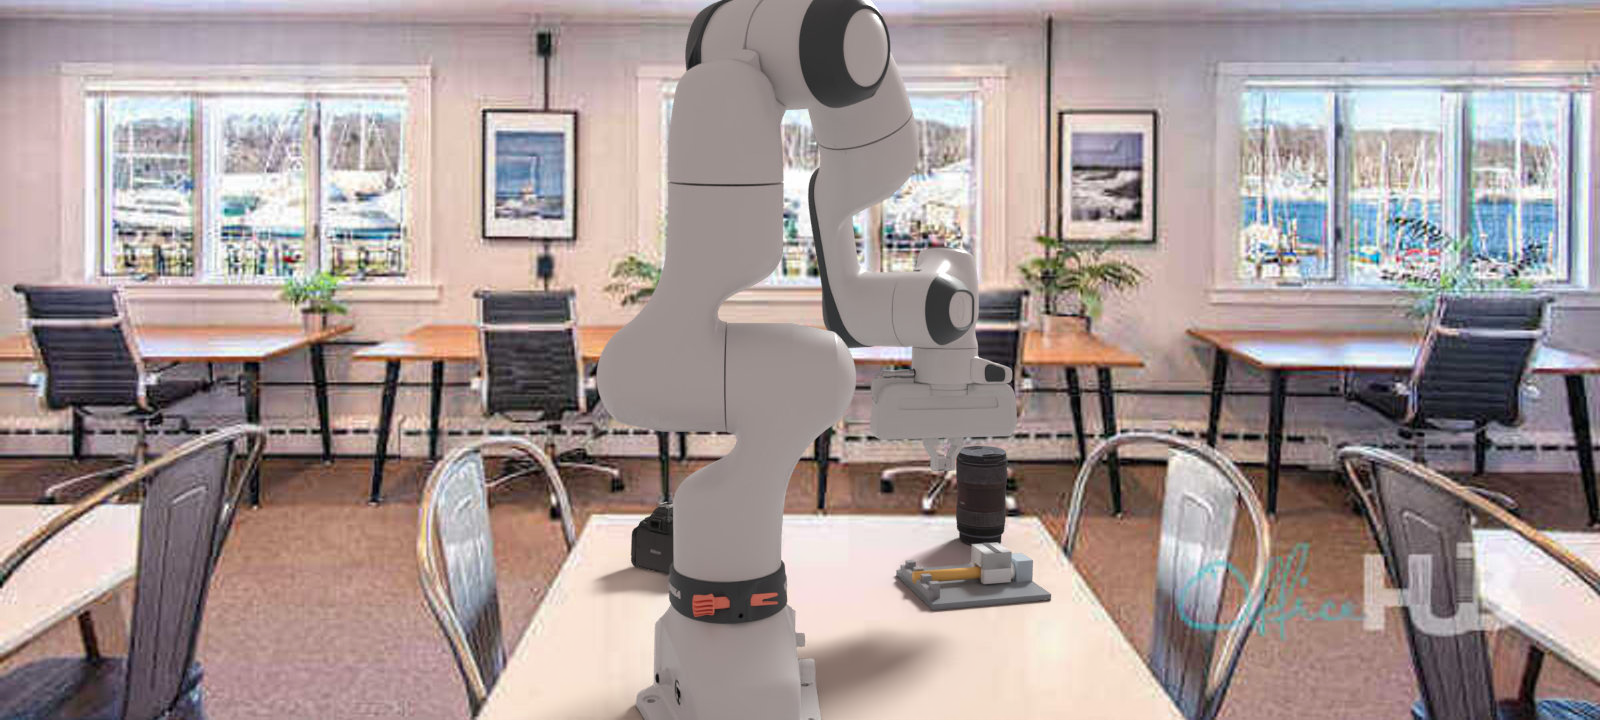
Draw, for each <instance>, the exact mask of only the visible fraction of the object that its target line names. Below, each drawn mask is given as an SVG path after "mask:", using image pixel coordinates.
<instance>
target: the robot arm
mask: <svg viewBox="0 0 1600 720" xmlns="http://www.w3.org/2000/svg"><path fill="white" fill-rule="evenodd" d="M885 20H886V19H884V17H883V15H882V13H881V12H880V11H879V9H878V8H877V7H876V5H875V3H873V2H872V0H718V1H716V2H713V3H711V4H709V5H708V6H706V7H704V8H703V9H702V10H701V11H700V12H698V13H697V14H696V15H695V18H694V20H693V21H692V24H691V26H690V28H689V31H688V35H687V39H686V44H685V51H684V53H685V70H686V71H685V72H684V74H682V75H681V77H680V78H679V81H678V82H677V85H676V88H675V92H674V97H673V98H674V99H673V103H672V108H671V115H670V116H671V117H670V124H669V133H668V147H667V234H666V246H665V247H666V249H665V255H664V256H665V258H664V263H663V268H662V271H661V274H660V277H659V280H658V283H657V285H656V286H655V289H654V291H653V292H652V294H651V296H650V298H649V299H648V301H647V302H646V304H645V305H644V307H643V308H642V309H641V310H640V311H639V312H638V314H637V315H636V316H635V317H634V318H633V319H632V320H630V321H629V322H628V323H626V324H625V325H624V326H622V327H621V328H620V329H618V330H617V332H615V333H614V334H613V335H612V336H611V338H610V339H608V341H607V343H606V344H605V346H604V347H603V350H602V351H601V354H600V357H599V360H598V363H597V368H596V386H597V390H598V394H599V398H600V400H601V402H602V404H603V406H604V408H605V409H606V411H607V413H608V414H610V416H611V417H612V418H613V419H614V420H615V421H616V423H618V424H623V425H627V426H631V427H636V428H641V429H646V430H652V431H658V432H663V433H664V432H668V433H669V432H671V433H672V432H676V433H677V432H679V433H680V432H681V433H682V432H685V433H686V432H689V433H691V432H692V433H693V432H697V433H699V432H705V433H706V432H709V433H710V432H712V433H713V432H714V433H715V432H718V433H719V432H725V433H726V432H727V433H728V434H732V435H734V437H735V438H736V441H735V444H734V445H733V448H732V449H731V450H730V452H729V453H727V454H726V455H725V456H723V457H721V458H720V459H718V460H716V461H713V462H711V463H709V464H707V465H705V466H703V467H701V468H699V469H698V470H696V471H694V472H692V473H691V474H690V475H688V476H687V477H686V478H685V479H684V480H683V481H682V482H680V484H679V486H678V487H677V489H676V491H675V493H674V497H673V501H672V502H673V547H674V562H673V563H672V564H671V565H670V572H669V574H668V580H667V587H668V599H669V602H670V605H669V606H668V608H667V610H666V611H665V612H664V613H663V615H662V616H660V618H658V620H657V621H656V622H655V623H654V644H653V645H654V646H653V647H654V649H653V684H652V685H650V686H648V687H646V688H643V689H641V690H640V691H639V692H637V694H636V701H635V706H636V708H637V709H638V711H639V712H640V714H641V716H642V718H643V719H644V720H822V717H821V710H820V702H819V696H818V694H819V693H818V689H817V688H818V687H817V681H816V675H817V674H816V662H815V658H799V656H798V655H799V654H798V648H801V647H802V648H803V647H805V646H806V633H805V632H796V631H797V630H796V616H797V615H796V609H794V608H792V606H790V605H789V604H788V589H787V588H788V577H787V576H788V575H787V573H786V565H785V562H784V561H783V560H782V541H783V540H782V539H783V537H782V536H783V520H784V512H785V511H784V510H785V500H786V496H787V495H786V494H787V490H788V486H789V483H790V480H791V477H792V475H793V472H794V471H795V468H796V466H797V464H798V463H799V461H800V460H801V458H802V456H803V455H804V453H805V452H806V451H807V450H808V448H809V447H810V446H811V444H812V443H814V442H815V440H816V439H817V438H818V437H820V435H822V434H823V433H824V432H826V430H828V429H829V428H831V427H832V426H834V425H835V424H836V423H837V422H839V421H840V420H841V418H842V417H843V416H844V415H845V413H846V412H847V411H848V408H849V407H850V406H851V403H852V401H853V398H854V395H855V391H856V386H857V370H856V365H855V362H854V361H855V360H854V358H853V356H852V353H851V350H850V349H860V348H871V347H886V348H887V347H892V348H893V347H894V348H895V347H896V348H909V347H910V348H911V369H895V370H894V369H883V370H881V372H880V373H877V374H875V376H873V378H872V379H871V382H870V397H871V399H872V403H871V408H870V409H871V411H870V418H869V419H870V420H869V431H870V432H871V434H872V435H873V436H874V437H875V438H877V439H879V440H882V441H883V440H887V441H888V440H889V441H890V440H917V439H918V440H921V439H922V446H923V447H924V449H925V451H926V452H927V455H928V456H929V457H930V463H929V464H930V466H929V467H930V470H931V471H933V472H946V471H947V472H952V471H953V472H954V471H956V470H955V469H956V459H957V456H958V454H959V452H960V451H961V449H962V448H963V447H964V441H965V440H964V439H965V438H986V437H987V438H988V437H991V438H992V437H1011V436H1012V435H1013V434H1014V432H1015V431H1016V429H1017V425H1018V421H1017V420H1018V418H1017V417H1018V416H1017V415H1018V414H1017V413H1018V412H1017V400H1016V394H1015V391H1014V389H1013V387H1012V386H1011V385H1010V384H1009V383H1011V381H1012V380H1013V371H1012V368H1010V367H1008V366H1006V365H1003V364H1000V363H996V362H993V361H991V360H990V359H987V358H981V357H980V356H979V345H978V340H977V336H976V325H977V322H978V319H979V313H980V309H979V307H980V304H979V302H980V301H979V300H980V299H979V298H980V297H979V296H980V295H979V282H978V281H979V280H978V272H977V265H976V260H975V257H974V255H973V254H972V253H970V252H968V251H967V250H965V249H962V248H956V247H950V246H933V247H932V246H931V247H928V248H924V249H922V250H921V251H920V252H919V253H918V255H917V260H916V266H915V269H914V268H913V270H911V271H890V272H889V271H887V272H886V271H885V272H884V271H883V272H881V271H880V272H878V271H877V272H876V271H871V270H868V269H866V268H864V267H862V266H861V265H860V264H859V259H858V252H857V245H856V238H855V231H854V225H853V216H855V215H857V214H859V213H860V212H863V211H864V210H866V209H869V208H870V207H873V206H876V205H878V204H880V203H882V202H884V201H885V200H887V199H888V198H889V197H891V196H892V195H894V194H895V193H896V192H897V191H899V190H900V189H901V188H902V187H903V186H904V185H905V183H906V182H907V181H908V180H909V179H910V178H911V176H912V174H913V172H914V170H915V168H916V166H917V163H918V160H919V157H920V140H919V139H920V138H919V132H918V127H917V123H916V120H915V114H914V112H913V108H912V104H911V100H910V99H909V95H908V91H907V88H906V85H905V83H904V80H903V77H902V74H901V72H900V69H899V67H898V64H897V63H896V61H895V59H894V56H893V54H892V52H891V39H890V32H889V28H888V26H887V23H886V21H885ZM792 110H794V111H795V110H796V111H797V110H798V111H799V110H800V111H801V110H807V111H808V115H809V119H810V123H811V127H812V130H813V133H814V136H815V140H816V142H817V147H818V152H819V167H817V168H816V169H815V170H814V171H813V172H812V174H811V176H810V179H809V182H808V188H807V192H808V193H807V202H808V203H807V204H808V213H809V218H810V226H811V232H812V238H813V243H814V248H815V249H814V250H815V254H816V255H815V256H816V262H817V267H818V272H819V278H820V284H821V285H820V286H821V309H822V320H823V324H824V326H825V327H824V328H825V329H823V328H819V327H814V326H808V325H803V324H798V323H791V322H787V323H786V322H781V323H780V322H775V323H774V322H763V323H762V322H728V321H723V320H721V319H720V318H719V310H720V308H721V306H722V304H724V302H726V301H727V300H728V299H730V298H731V297H733V296H735V295H737V294H739V293H741V292H743V291H745V290H747V289H749V288H751V287H754V286H755V285H758V284H759V283H761V282H762V281H764V280H766V279H767V278H768V277H770V275H772V274H773V273H774V272H775V270H776V269H777V268H778V266H779V265H780V262H781V260H782V258H783V253H784V191H785V190H784V189H785V188H784V187H785V186H784V157H783V156H784V155H783V153H784V152H783V151H784V150H783V142H782V141H783V140H782V130H781V124H782V121H783V118H784V115H785V113H786V111H792ZM939 439H947V443H948V444H950V447H949V449H948V451H947V453H946V455H944V456H943V455H942V456H939V453H938V452H937V450H936V448H935V447H938V446H939Z"/></svg>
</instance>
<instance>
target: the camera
mask: <svg viewBox="0 0 1600 720" xmlns="http://www.w3.org/2000/svg"><path fill="white" fill-rule="evenodd" d="M630 547H631V548H630V556H631V557H630V561H631V562H630V563H631V564H632V566H634V567H635V568H639V569H643V570H648V571H653V572H657V573H661V574H665V575H669V572H670V565H671V564H672V563H673V562H674V547H673V501H670V502H669V501H665V502H660V503H659V504H658V505H657V507H656V508H655V509H654V510H653V511H652V513H651V514H650V515H649V516H646V517H645V518H644V519H643V520H641V521H639V523H638V525H637V526H636V527H633V530H632V532H631V545H630Z"/></svg>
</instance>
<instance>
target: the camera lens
mask: <svg viewBox="0 0 1600 720" xmlns="http://www.w3.org/2000/svg"><path fill="white" fill-rule="evenodd" d="M955 461H956V462H955V469H956V470H955V471H956V472H955V473H956V475H955V476H956V478H955V479H956V483H957V484H956V486H957V487H956V488H957V492H956V494H957V495H956V506H955V507H956V511H955V512H956V513H955V516H956V517H955V520H956V529H957V532H958V535H959V536H958V538H959V541H960V542H962V543H964V544H966V545H971V546H972V544H982V543H999V544H1001V543H1002V535H1003V534H1004V533H1005V526H1006V513H1007V511H1006V510H1007V509H1006V493H1007V492H1006V491H1007V481H1008V457H1007V451H1006V450H1005V449H1003V448H1001V447H997V446H990V445H969V446H963V447H962V449H961V451H960V452H959V454H958V456H957V457H956V458H955Z"/></svg>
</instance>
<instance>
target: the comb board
mask: <svg viewBox="0 0 1600 720" xmlns="http://www.w3.org/2000/svg"><path fill="white" fill-rule="evenodd" d="M916 565H917V562H916V560H914V559H906V560H905V563H904V564H900V569H896V570H895V571H896V574H895V575H896V576H897V578H899V580H901V582H903V583H904V584H905V585H906V586H907V587H908V588H909V589H910V590H911V591H912V592H913V593H914V594H915V595H916V596H917V597H919V599H920V600H921V601H923V602H924V604H926V605H927V607H929V608H930V609H931V610H932V611H939V610H951V609H961V608H973V607H982V606H983V607H985V606H993V605H995V606H996V605H1006V604H1009V605H1010V604H1017V603H1019V604H1020V603H1028V602H1029V603H1030V602H1031V601H1032V602H1039V601H1038V600H1043V601H1046V600H1045V599H1051V600H1052V593H1050V592H1049V591H1048V590H1046V589H1045V588H1044V587H1042V586H1040V585H1039V584H1037V583H1036V582H1034V581H1033V574H1034V572H1033V571H1034V560H1033V559H1032V558H1030V557H1029V556H1027V554H1024V553H1023V552H1014V553H1013V552H1012V559H1011V582H1005V583H993V584H983V583H982V582H981V567H971V563H967V564H956V565H955V564H954V565H944V566H942V565H941V566H931V567H927V566H926V567H922V566H916Z"/></svg>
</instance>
